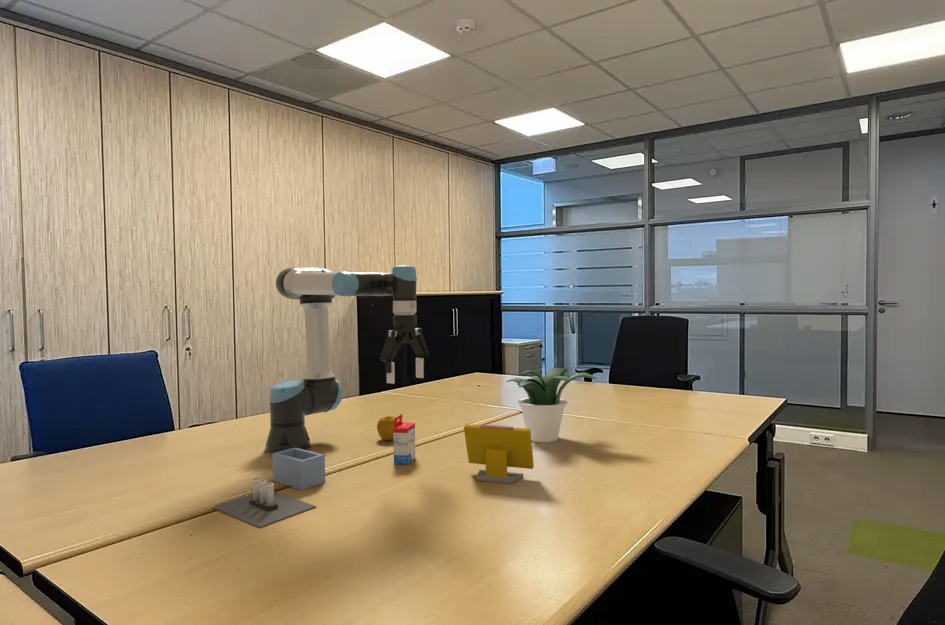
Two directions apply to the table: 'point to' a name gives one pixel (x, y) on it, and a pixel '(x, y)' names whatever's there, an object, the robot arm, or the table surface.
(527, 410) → the potted plant
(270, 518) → the header
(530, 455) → the yellow framed monitor
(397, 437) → the ink box
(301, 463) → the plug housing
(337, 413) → the table surface
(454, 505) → the table surface
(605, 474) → the table surface
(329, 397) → the robot arm
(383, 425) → the apple
